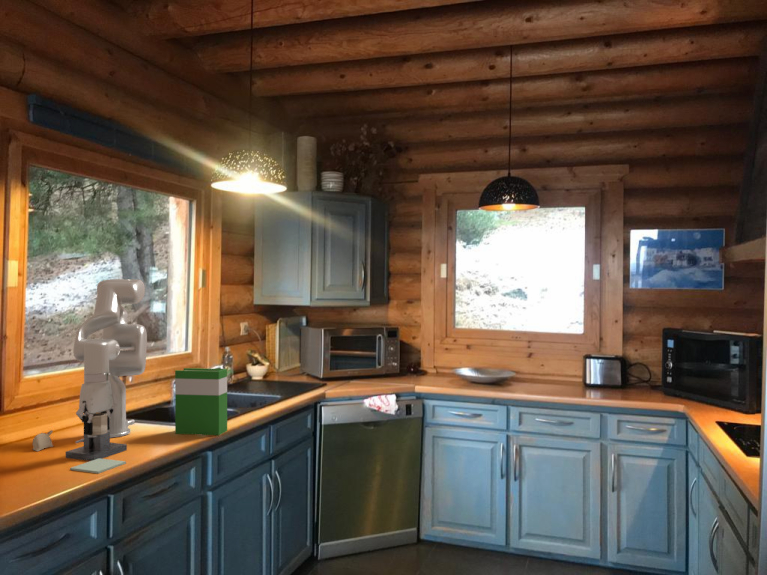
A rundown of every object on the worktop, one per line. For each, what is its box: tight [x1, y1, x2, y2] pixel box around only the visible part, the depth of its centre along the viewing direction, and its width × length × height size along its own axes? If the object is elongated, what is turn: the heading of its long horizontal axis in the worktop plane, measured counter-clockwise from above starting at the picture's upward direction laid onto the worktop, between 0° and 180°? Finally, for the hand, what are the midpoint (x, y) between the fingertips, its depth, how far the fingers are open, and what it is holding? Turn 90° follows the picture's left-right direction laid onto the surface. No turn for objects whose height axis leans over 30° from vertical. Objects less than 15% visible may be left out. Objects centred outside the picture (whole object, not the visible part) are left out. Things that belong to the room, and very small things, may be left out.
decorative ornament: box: [32, 429, 54, 452], centre depth 207 cm, size 4×8×5 cm, turn 160°
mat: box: [69, 458, 127, 474], centre depth 184 cm, size 11×11×1 cm
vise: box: [65, 432, 128, 462], centre depth 199 cm, size 14×13×12 cm
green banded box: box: [174, 367, 228, 436], centre depth 229 cm, size 18×7×24 cm, turn 81°
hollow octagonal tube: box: [87, 413, 107, 435], centre depth 199 cm, size 6×6×6 cm
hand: (96, 431), depth 199 cm, fingers closed on hollow octagonal tube, 6 cm apart
